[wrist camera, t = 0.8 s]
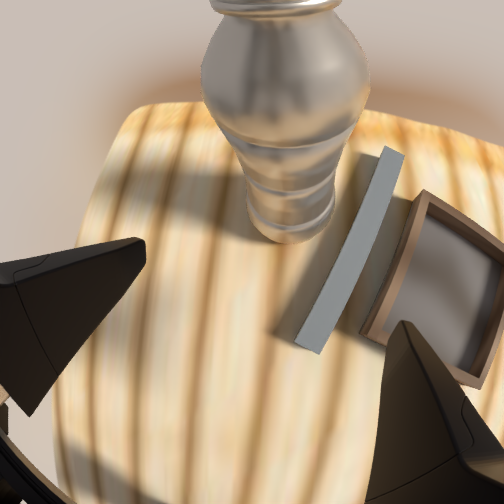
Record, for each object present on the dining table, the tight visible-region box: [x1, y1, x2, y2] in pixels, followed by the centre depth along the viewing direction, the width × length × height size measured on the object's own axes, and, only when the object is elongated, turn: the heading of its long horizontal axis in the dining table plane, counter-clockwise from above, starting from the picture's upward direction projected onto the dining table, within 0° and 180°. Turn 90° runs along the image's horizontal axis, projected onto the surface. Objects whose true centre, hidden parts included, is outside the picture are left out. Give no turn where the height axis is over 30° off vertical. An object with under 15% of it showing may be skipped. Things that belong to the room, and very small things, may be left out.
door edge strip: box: [294, 146, 404, 354], centre depth 20 cm, size 18×2×2 cm, turn 151°
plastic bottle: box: [201, 0, 371, 244], centre depth 13 cm, size 6×7×20 cm
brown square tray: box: [359, 189, 504, 390], centre depth 18 cm, size 13×13×2 cm
